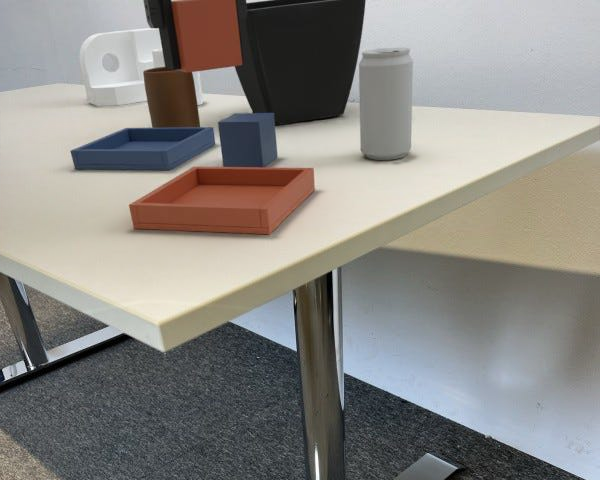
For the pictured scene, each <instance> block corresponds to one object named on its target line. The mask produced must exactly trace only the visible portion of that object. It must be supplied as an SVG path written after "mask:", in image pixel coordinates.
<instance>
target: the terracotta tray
mask: <svg viewBox="0 0 600 480" xmlns="http://www.w3.org/2000/svg"><path fill="white" fill-rule="evenodd" d="M315 190H316V184H315V170H314V167H277V166H276V167H273V166H272V167H266V166H265V167H223V166H192V167H190V168H189V169H187V170H185V171H183V172H182V173H180V174H179V175H177V176H175V177H173V178H172V179H170V180H168V181H166V182H165V183H163V184H161V185H159V186H158V187H157V188H155V189H153V190H152V191H150V192H148V193H147V194H144V195H143V196H141V197H140V198H138V199H136V200H135V201H133V202H131V203H129V204H128V207H129V212H130V218H131V222H132V226H133V229H136V230H160V231H162V230H163V231H180V232H181V231H183V232H185V231H186V232H204V233H205V232H206V233H228V234H229V233H230V234H253V235H254V234H255V235H271V234H272V233H273V232H274V231H275V230H276V229H277V228H278V227H279V226H280V225H281V224H282V223H283V222H284V221H285V220H286V219H287V218H288V217H289V216H290V215H291V214H292V213H293V212H294V211H295V210H296V209H297V208H298V207H299V206H300V205H301V204H302V203H303V202H304V201H305V200H306V199H307V198H308V197H309V196H310V195H311V194H312V193H313V192H314V191H315Z"/></svg>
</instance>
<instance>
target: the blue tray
mask: <svg viewBox="0 0 600 480" xmlns="http://www.w3.org/2000/svg"><path fill="white" fill-rule="evenodd" d="M215 136H216V135H215V129H214V127H213V126H200V127H163V128H152V127H125V128H122V129H120V130H118V131H115V132H113V133H110V134H108V135H105V136H103V137H100V138H98V139H95V140H93V141H91V142H88V143H86V144H83V145H81V146H78V147H75V148H73V149H71V150H70V156H71V160H72V164H73V168H74V169H75V170H130V171H131V170H132V171H133V170H134V171H135V170H139V171H141V170H142V171H171V170H172V169H174V168H177V167H178V166H180V165H181V164H183V163H185V162H186V161H189V160H190V159H192V158H193V157H195V156H197V155H199V154H201V153H202V152H204V151H206V150H208V149H209V148H211V147H213V146H215V145H216V138H215Z"/></svg>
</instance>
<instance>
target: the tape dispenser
mask: <svg viewBox="0 0 600 480" xmlns="http://www.w3.org/2000/svg"><path fill="white" fill-rule="evenodd" d="M161 48H162V45H161V39H160V33H159V28H150V27H145V28H135V29H126V30H117V31H109V32H108V31H107V32H99V33H94V34H92V35H90V36H89V37H87V38H86V39H85V40H84V41H83V43H82V44H81V46H80V48H79V53H78V55H79V56H78V61H79V67H80V72H81V76H82V79H83V84H84V89H85V93H86V98H87V101H88V103H89V104H91V105H94V106H96V107H111V106H123V105H131V104H137V103H142V102H147V96H146V91H145V85H144V75H143V71H145V70H148V69H152V68H155V67H154V61H153V55H152V51H153V50H155V49H161ZM107 54H108V55H109V56H110V57H111V59H112V66H111V68H110V69H108V70H106V69H105V68H104V66H103V58H104V57H105V56H106V55H107Z"/></svg>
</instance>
